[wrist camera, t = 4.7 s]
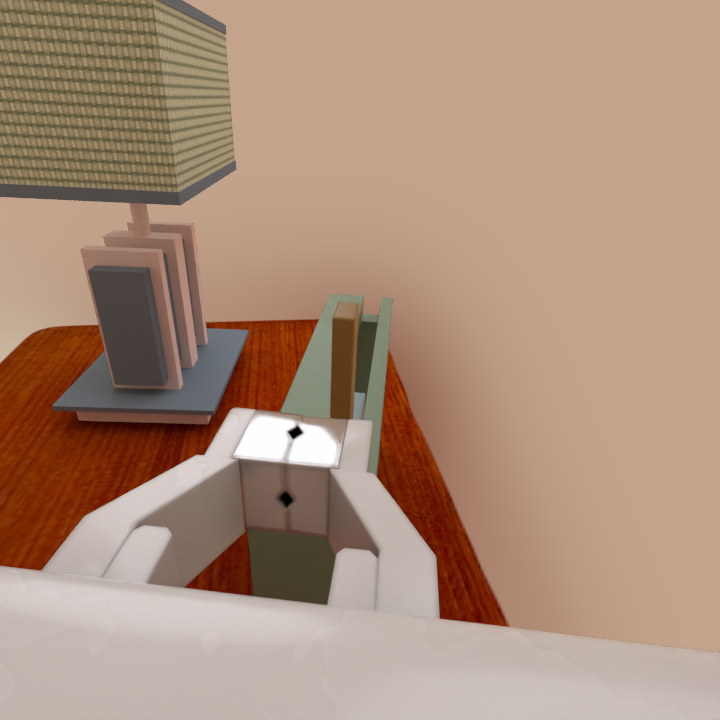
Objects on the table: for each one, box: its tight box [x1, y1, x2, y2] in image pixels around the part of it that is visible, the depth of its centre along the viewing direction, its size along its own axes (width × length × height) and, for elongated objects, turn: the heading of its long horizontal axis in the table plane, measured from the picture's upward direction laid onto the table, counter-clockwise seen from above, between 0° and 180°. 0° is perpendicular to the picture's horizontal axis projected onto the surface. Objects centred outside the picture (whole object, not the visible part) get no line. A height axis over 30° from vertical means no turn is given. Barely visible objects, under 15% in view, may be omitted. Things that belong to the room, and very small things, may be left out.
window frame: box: [247, 294, 393, 605], centre depth 31 cm, size 5×22×14 cm, turn 175°
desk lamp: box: [0, 0, 249, 424], centre depth 42 cm, size 18×14×33 cm
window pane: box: [330, 301, 366, 420], centre depth 25 cm, size 1×9×19 cm, turn 175°
